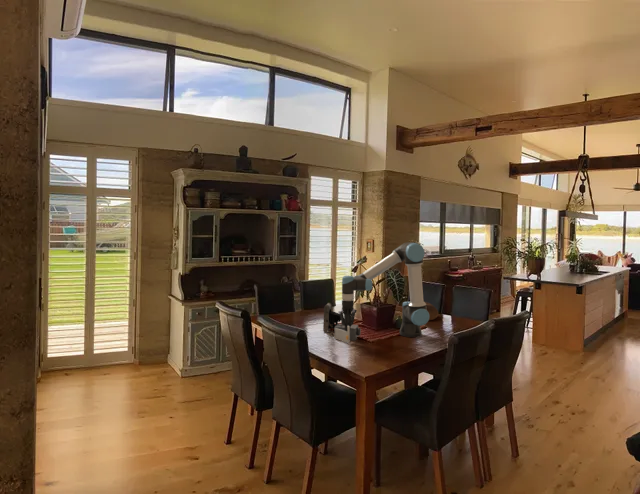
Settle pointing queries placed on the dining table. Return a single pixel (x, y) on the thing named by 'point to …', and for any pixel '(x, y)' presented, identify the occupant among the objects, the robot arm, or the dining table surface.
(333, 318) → the vintage camera
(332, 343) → the dining table surface
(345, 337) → the side door
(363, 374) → the dining table surface
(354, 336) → the cabinet with round knob
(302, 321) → the dining table surface
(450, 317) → the dining table surface
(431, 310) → the bread
